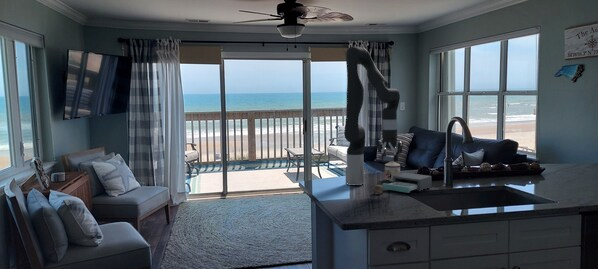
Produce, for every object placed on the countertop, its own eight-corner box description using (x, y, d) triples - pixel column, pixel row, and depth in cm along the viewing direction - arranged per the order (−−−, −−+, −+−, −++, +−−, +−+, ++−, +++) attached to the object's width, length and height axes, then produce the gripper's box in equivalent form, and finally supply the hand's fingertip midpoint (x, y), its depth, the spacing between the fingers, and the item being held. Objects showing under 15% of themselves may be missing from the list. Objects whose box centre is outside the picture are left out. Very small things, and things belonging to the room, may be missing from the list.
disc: (380, 160, 210) (380, 156, 210) (388, 158, 215) (388, 155, 214) (391, 161, 206) (391, 157, 205) (398, 159, 210) (398, 156, 210)
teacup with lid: (381, 179, 245) (381, 159, 244) (395, 178, 248) (394, 158, 247) (392, 183, 233) (392, 162, 232) (406, 181, 236) (406, 161, 235)
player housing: (392, 186, 224) (392, 175, 223) (404, 183, 232) (404, 172, 232) (420, 191, 212) (420, 179, 212) (431, 187, 221) (431, 176, 220)
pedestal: (372, 193, 209) (372, 185, 209) (377, 192, 212) (377, 184, 211) (379, 194, 206) (379, 187, 206) (383, 193, 209) (383, 185, 209)
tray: (382, 188, 216) (382, 183, 216) (395, 184, 224) (395, 180, 224) (408, 192, 205) (408, 187, 205) (420, 188, 214) (420, 183, 213)
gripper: (406, 128, 206) (406, 162, 207) (382, 127, 217) (382, 159, 218) (397, 129, 201) (397, 163, 202) (373, 128, 211) (373, 161, 213)
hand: (389, 161), depth 210 cm, fingers closed on disc, 6 cm apart
